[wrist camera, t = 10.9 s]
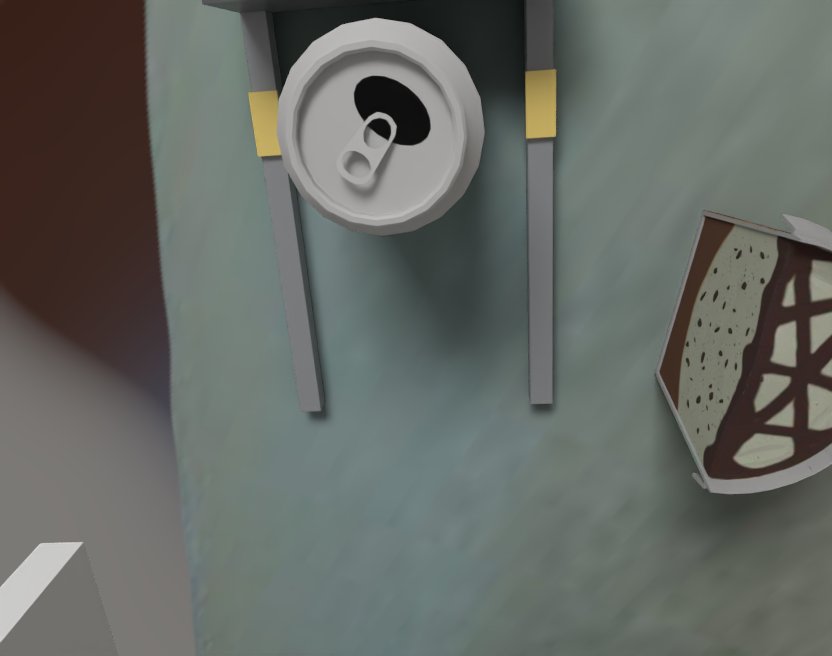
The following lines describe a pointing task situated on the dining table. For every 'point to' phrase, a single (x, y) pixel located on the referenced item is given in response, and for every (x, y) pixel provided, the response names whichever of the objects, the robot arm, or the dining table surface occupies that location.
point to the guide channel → (266, 85)
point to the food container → (753, 354)
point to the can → (380, 126)
